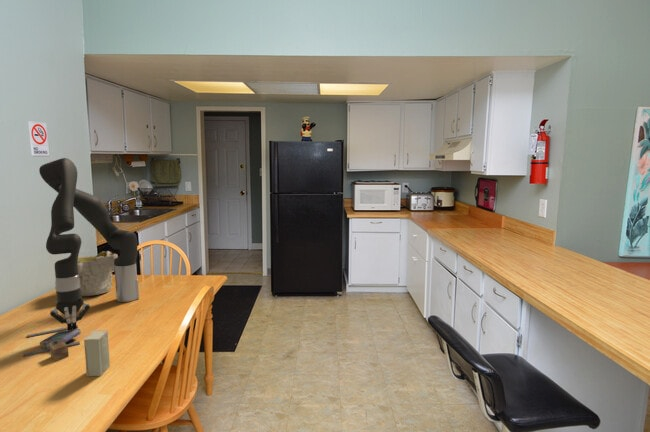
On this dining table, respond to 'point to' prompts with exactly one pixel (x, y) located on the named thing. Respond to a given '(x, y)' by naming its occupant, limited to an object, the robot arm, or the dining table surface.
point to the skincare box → (97, 353)
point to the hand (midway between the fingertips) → (72, 331)
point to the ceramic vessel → (96, 273)
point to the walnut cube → (59, 351)
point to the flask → (60, 337)
